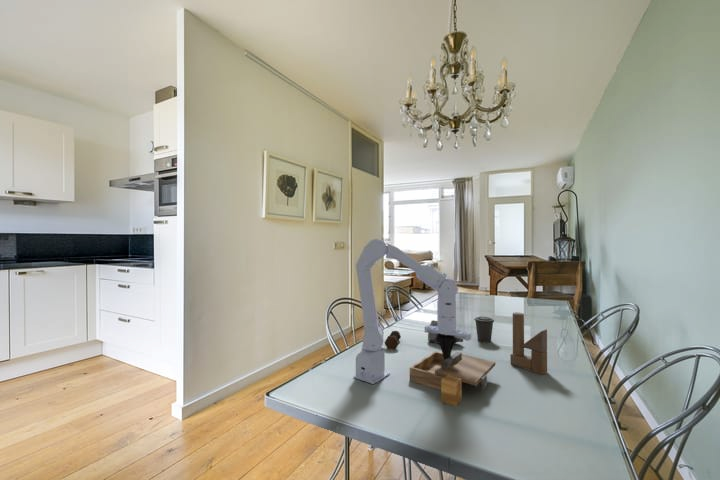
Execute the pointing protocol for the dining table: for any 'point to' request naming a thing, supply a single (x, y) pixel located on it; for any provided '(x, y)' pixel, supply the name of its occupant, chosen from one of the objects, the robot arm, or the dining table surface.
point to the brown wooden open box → (428, 370)
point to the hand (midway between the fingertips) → (446, 358)
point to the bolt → (392, 340)
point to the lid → (466, 368)
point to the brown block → (451, 390)
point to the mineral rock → (433, 336)
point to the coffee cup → (484, 328)
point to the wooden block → (528, 347)
